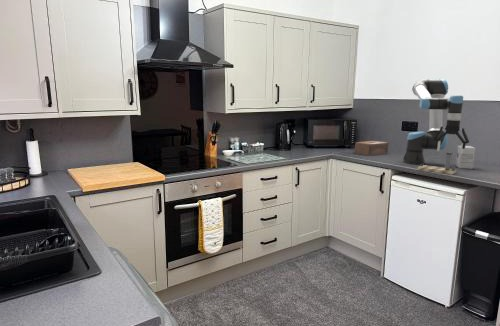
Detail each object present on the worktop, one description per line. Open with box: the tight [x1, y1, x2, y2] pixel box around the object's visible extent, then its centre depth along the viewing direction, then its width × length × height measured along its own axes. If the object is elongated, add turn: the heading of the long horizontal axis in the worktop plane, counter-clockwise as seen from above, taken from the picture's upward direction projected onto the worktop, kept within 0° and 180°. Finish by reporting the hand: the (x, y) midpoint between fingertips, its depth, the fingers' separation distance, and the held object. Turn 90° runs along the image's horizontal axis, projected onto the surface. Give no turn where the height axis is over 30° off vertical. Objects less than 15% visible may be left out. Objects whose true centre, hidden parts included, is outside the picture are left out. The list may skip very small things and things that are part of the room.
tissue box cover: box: [354, 140, 389, 156], centre depth 306 cm, size 26×14×10 cm, turn 121°
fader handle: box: [444, 151, 453, 170], centre depth 229 cm, size 2×4×11 cm, turn 136°
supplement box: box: [455, 145, 476, 170], centre depth 248 cm, size 9×9×15 cm
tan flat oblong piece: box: [417, 164, 457, 175], centre depth 234 cm, size 21×10×3 cm, turn 46°
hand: (449, 152), depth 228 cm, fingers open, 13 cm apart
